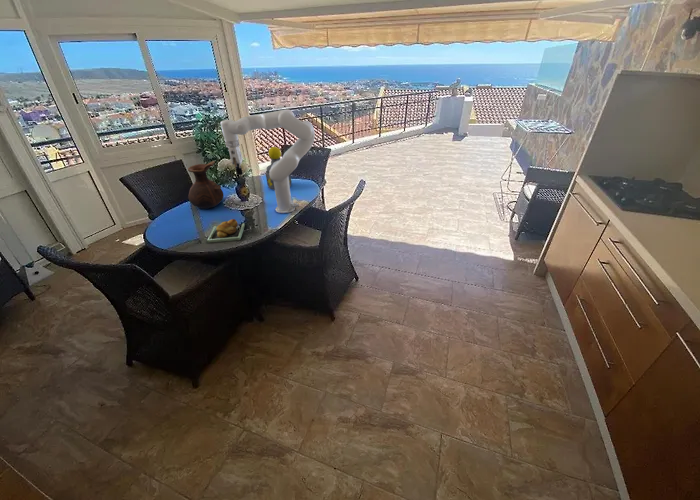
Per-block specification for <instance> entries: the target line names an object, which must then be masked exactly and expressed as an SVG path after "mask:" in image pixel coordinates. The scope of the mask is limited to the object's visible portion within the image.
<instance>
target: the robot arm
mask: <svg viewBox="0 0 700 500" xmlns="http://www.w3.org/2000/svg"><path fill="white" fill-rule="evenodd" d="M220 127H221V131H222V136H223V140H224V144H225V147H226V148H227V149H228V152H229V158H230V162H231V165H232V166H234V168H235V173H236V175H237V176H242V175H243V174H244V173H243V168H242V162H243V159H244V158H243V155H242V151H241V149H240V146H241V144H240V140H239V136H243V135H246V134H247V133H248V132H250V131H254V130H259V129H261V130H262V129H264V130H267V131H269V130H275V129H279V128H282V129H283V130H286V131H287V132H288V133H290V134H292V135H293V136H294V137H296V138H297V140H296V141H295V142H294V143H293V144H292V145H291V146H290V147H289V148H288V149H287V150H286V151H285V152H284V153H283V155H282V157H280V160H279V161H276V162H274V163H273V165H272V166H271V169H270V171H269V176H270V178H271V179H272V180H273V182H274V188H275V190H274V194H275V200H276V207H275V212H276V213H278V214H289V213H292V212H294V211H295V210H296V208H299V207H300V204H299V203H298V202H294V201H293V199H292V195H291V186H290V185H289V175H291V174H292V173H293V172H294V171H295V170H296V169H297V167H298V165H299V163H300V160H301V159H302V158H303V157H304V156H305V155H306V154H307V153H308V152H309V151H310V149H311V148H312V147H313V144H314V142H315V138H316V135H315V134H316V133H315V128H314V126H313V123H311V121H309V120H303V121H302V120H301V119H299V118H298V117H296V116H295V114H294V112H293V111H292V110H291V109H287V108H286V109H280V110H275V111H271V112H264V113H261V114H254V115H253V114H252V115H248V116H243V117H241V118H239V119H238V120H233V119H224V120H221V121H220Z"/></svg>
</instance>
